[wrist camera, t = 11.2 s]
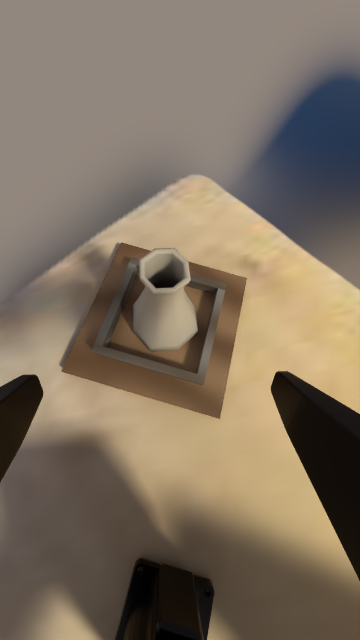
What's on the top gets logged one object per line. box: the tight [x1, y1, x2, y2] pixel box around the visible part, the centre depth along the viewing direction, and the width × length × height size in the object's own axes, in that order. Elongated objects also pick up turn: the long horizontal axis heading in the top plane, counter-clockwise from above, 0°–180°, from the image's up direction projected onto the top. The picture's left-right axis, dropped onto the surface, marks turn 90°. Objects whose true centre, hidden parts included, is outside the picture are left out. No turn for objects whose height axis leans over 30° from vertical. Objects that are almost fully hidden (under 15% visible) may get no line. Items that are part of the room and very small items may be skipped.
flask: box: [132, 248, 198, 352], centre depth 16 cm, size 7×7×10 cm
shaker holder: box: [61, 243, 247, 419], centre depth 21 cm, size 16×16×2 cm
